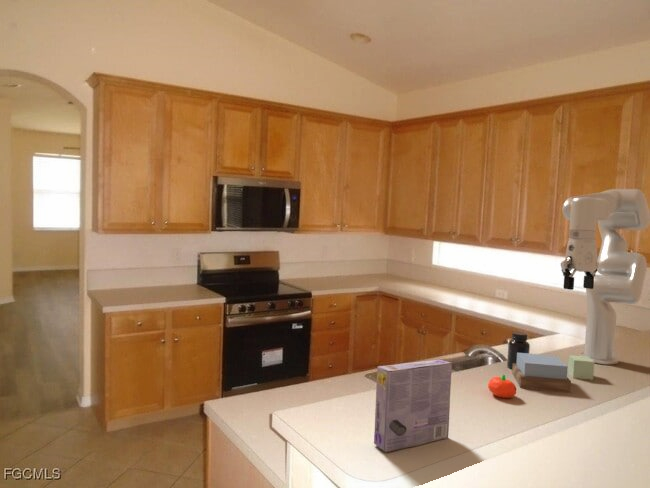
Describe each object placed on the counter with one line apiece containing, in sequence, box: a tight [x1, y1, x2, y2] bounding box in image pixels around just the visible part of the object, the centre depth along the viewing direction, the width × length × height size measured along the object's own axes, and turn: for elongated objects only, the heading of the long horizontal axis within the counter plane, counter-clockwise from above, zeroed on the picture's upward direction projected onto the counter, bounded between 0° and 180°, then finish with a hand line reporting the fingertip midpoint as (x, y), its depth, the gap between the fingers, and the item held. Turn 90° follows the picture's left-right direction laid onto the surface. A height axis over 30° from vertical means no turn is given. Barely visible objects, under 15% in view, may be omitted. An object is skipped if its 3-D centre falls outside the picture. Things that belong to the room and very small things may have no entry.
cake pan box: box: [373, 359, 453, 454], centre depth 109 cm, size 19×5×18 cm, turn 118°
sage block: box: [567, 354, 595, 381], centre depth 160 cm, size 6×6×6 cm
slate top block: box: [516, 352, 568, 380], centre depth 152 cm, size 12×12×4 cm
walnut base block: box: [511, 363, 572, 393], centre depth 152 cm, size 14×14×4 cm
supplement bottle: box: [506, 331, 531, 370], centre depth 167 cm, size 7×7×12 cm
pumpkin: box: [487, 374, 517, 399], centre depth 140 cm, size 7×8×6 cm
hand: (578, 288), depth 157 cm, fingers open, 9 cm apart
